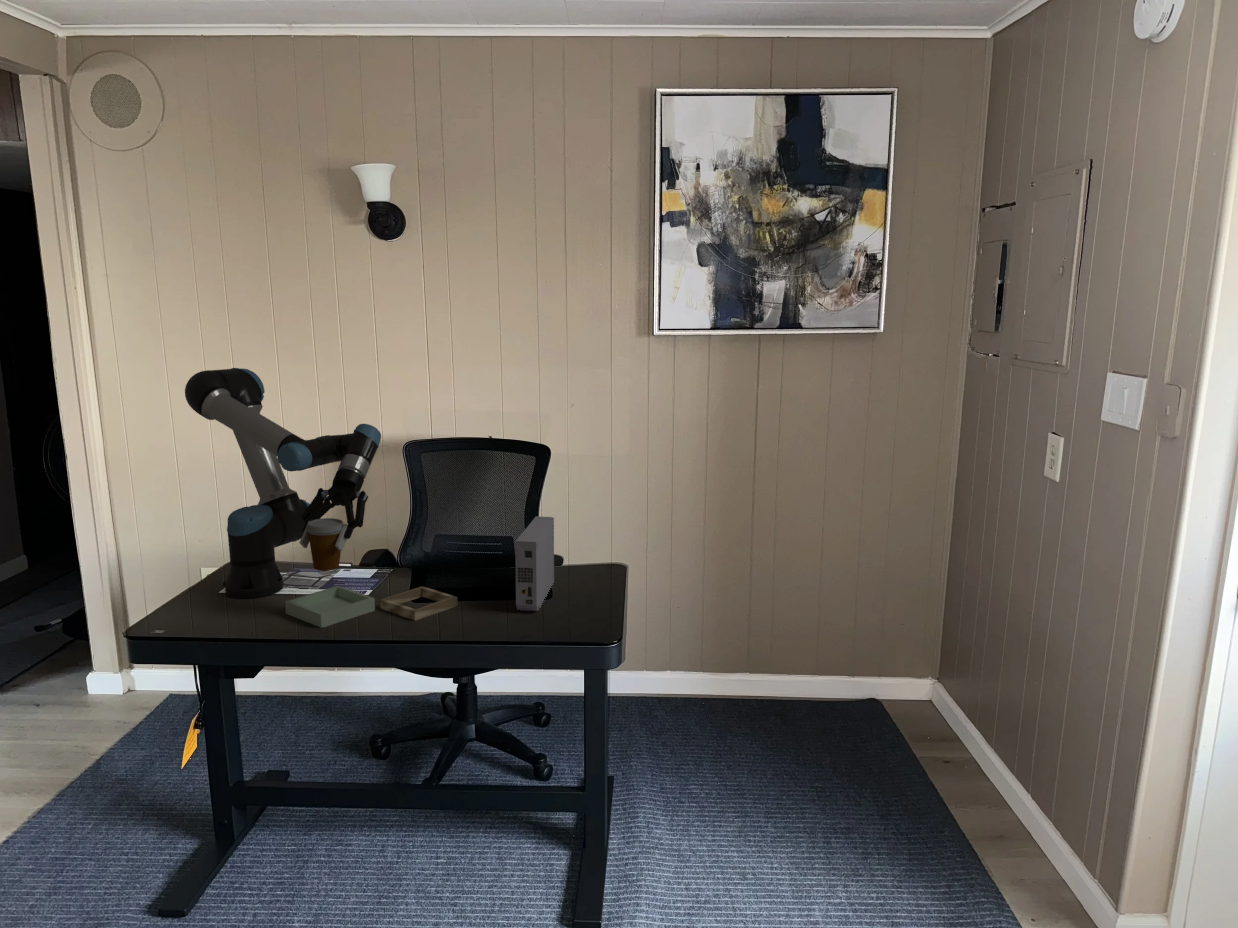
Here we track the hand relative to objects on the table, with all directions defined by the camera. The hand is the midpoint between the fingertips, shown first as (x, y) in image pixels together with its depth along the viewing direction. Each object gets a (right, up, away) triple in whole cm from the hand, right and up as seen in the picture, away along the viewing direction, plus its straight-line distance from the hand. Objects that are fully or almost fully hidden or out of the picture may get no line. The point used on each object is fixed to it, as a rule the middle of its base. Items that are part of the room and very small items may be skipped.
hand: (320, 546), depth 213 cm
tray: (0, -18, +6) cm, 19 cm away
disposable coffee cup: (0, -6, +4) cm, 7 cm away
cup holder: (+23, -17, +11) cm, 30 cm away
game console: (+53, -16, +20) cm, 59 cm away
